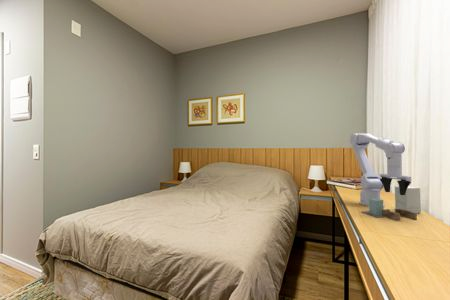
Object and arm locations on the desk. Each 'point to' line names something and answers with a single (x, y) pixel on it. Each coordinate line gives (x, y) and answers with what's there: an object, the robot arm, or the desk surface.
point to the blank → (376, 206)
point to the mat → (372, 214)
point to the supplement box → (408, 199)
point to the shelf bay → (399, 212)
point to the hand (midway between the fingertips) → (394, 193)
